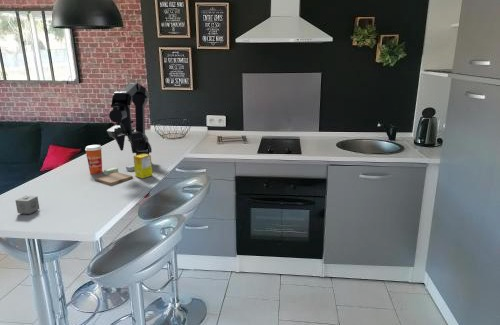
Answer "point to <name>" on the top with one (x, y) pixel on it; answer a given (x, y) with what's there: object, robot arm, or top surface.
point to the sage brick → (110, 171)
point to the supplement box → (143, 166)
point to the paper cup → (94, 158)
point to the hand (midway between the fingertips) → (127, 151)
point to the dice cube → (27, 204)
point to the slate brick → (130, 168)
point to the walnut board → (113, 178)
